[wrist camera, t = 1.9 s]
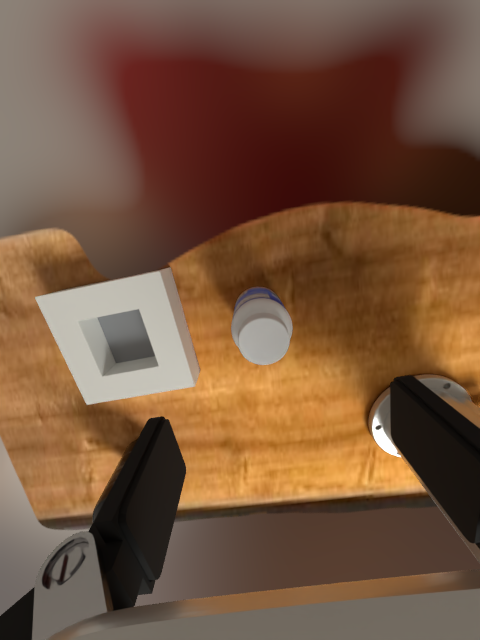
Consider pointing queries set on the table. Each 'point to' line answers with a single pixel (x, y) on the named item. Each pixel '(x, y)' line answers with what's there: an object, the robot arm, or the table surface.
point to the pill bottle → (261, 326)
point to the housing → (123, 336)
